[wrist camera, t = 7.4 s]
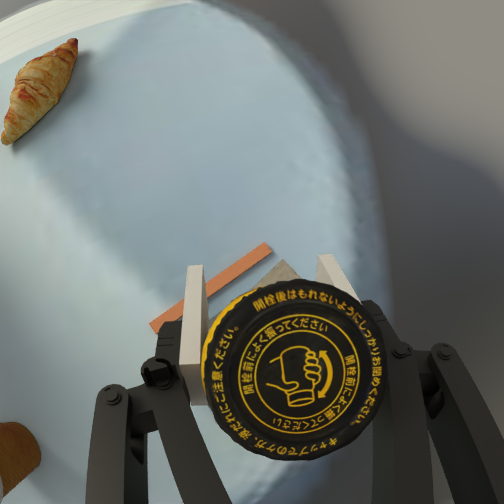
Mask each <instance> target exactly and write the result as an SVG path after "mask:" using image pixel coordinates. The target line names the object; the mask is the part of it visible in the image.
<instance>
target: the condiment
mask: <svg viewBox="0 0 504 504" xmlns="http://www.w3.org/2000/svg"><path fill="white" fill-rule="evenodd" d="M201 377H202V385H203V388H204V391H205V394H206V399H207V402H208V405H209V406H210V408H211V410H212V412H213V415H214V418H215V421H216V422H217V424H218V425H219V426H220V428H221V429H222V430H223V431H224V432H226V433H227V434H228V435H229V436H230V437H231V438H232V440H233V441H234V442H236V443H238V444H239V445H241V446H242V447H244V448H245V449H246V450H248V451H251V452H253V453H255V454H260V455H263V456H265V457H268V458H270V459H274V460H283V461H296V460H309V461H310V460H314V459H317V458H320V457H322V456H325V455H327V454H329V453H331V452H333V451H336V450H338V449H340V448H342V447H345V446H346V445H348V444H350V443H351V442H352V441H354V440H355V439H356V438H357V437H358V436H359V435H360V434H361V433H362V431H363V430H364V429H365V428H366V427H367V426H368V425H369V423H370V422H371V420H373V418H374V417H375V416H376V414H377V412H378V410H379V408H380V406H381V404H382V402H383V400H384V398H385V394H386V389H387V386H388V365H387V351H386V347H385V345H384V340H383V335H382V331H381V329H380V327H379V325H378V324H377V323H376V321H375V319H374V318H373V317H372V315H371V314H370V313H369V311H368V310H367V309H366V308H365V307H364V306H363V305H362V304H361V303H360V302H359V301H358V300H356V299H355V298H354V297H353V296H351V295H350V294H348V293H347V292H345V291H343V290H340V289H339V288H337V287H335V286H333V285H330V284H326V283H320V282H316V281H309V280H306V279H302V278H301V277H300V276H299V275H298V274H297V273H296V272H295V271H294V270H293V269H292V268H291V267H290V266H289V265H288V264H287V263H286V262H285V261H284V260H283V259H282V260H281V261H280V262H279V263H278V264H277V265H276V266H275V267H274V268H273V269H272V270H271V271H270V272H269V273H268V274H267V275H266V276H265V277H263V278H262V279H261V280H260V281H259V282H258V283H257V284H256V285H255V286H254V287H253V288H252V289H251V290H250V291H249V292H246V293H244V294H242V295H240V296H239V297H237V298H236V299H234V300H232V301H231V303H230V304H229V305H228V306H227V307H226V308H225V309H224V310H223V311H221V313H220V314H219V315H218V316H217V318H216V319H215V320H214V321H213V323H212V326H211V328H210V329H209V330H208V335H207V338H206V340H205V343H204V345H203V349H202V355H201Z"/></svg>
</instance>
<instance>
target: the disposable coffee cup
mask: <svg viewBox="0 0 504 504" xmlns="http://www.w3.org/2000/svg"><path fill="white" fill-rule="evenodd" d="M40 460H41V453H40V449H39V446H38V444H37V442H36V440H35V438H34V436H33V435H32V434H31V432H30V431H29V430H28V429H27V428H25V427H24V426H23V425H21V424H19V423H16V422H8V423H0V503H1V501H2V499H3V497H4V496H6V494H8V493H9V491H11V490H12V489H13V488H15V487H16V485H18V484H19V482H21V481H22V480H23V479H24V478H25V477H26V476H28V475H29V474H30V473H31V472H32V471H33V470H34V469H35V468H37V467H38V466H39V464H40Z"/></svg>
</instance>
